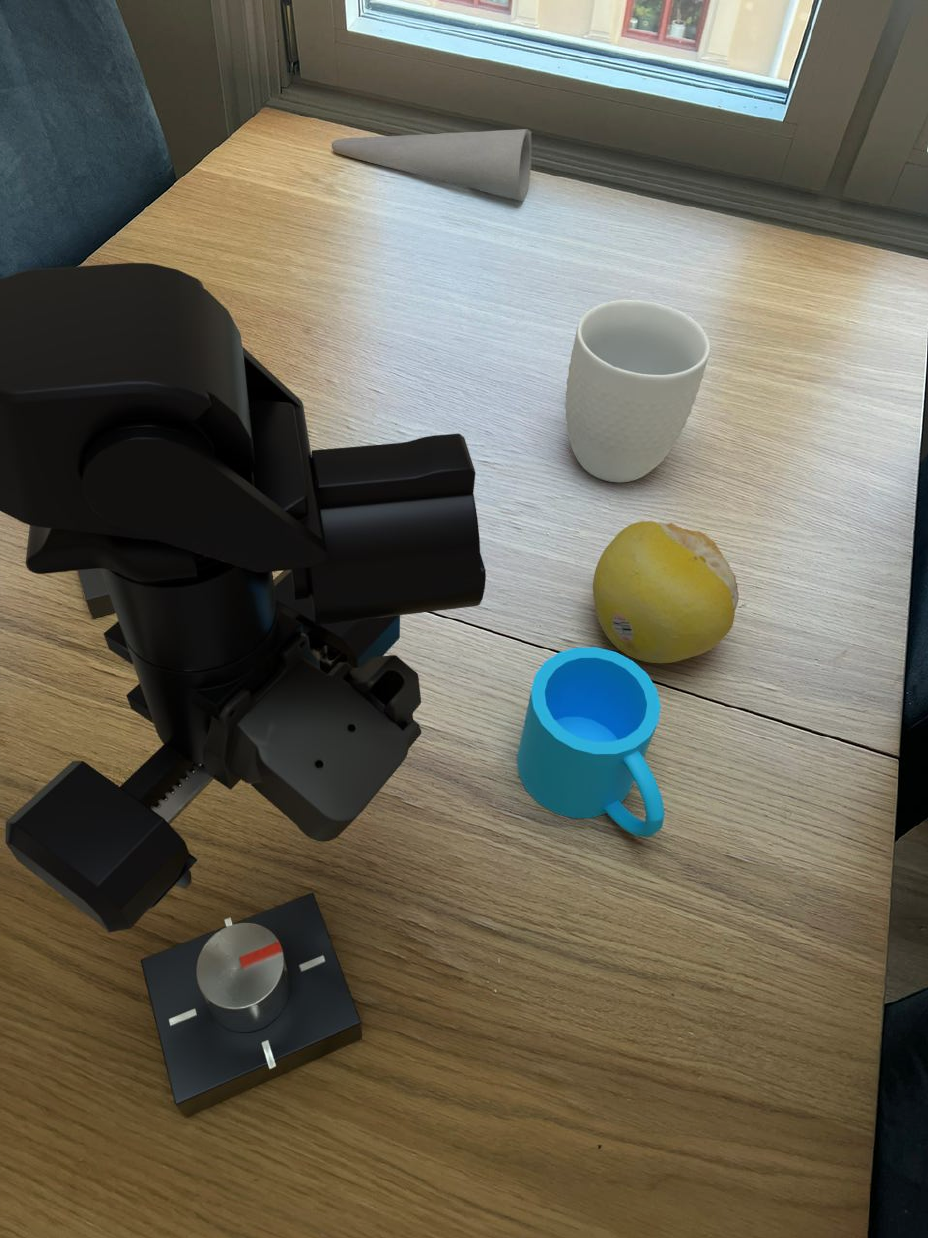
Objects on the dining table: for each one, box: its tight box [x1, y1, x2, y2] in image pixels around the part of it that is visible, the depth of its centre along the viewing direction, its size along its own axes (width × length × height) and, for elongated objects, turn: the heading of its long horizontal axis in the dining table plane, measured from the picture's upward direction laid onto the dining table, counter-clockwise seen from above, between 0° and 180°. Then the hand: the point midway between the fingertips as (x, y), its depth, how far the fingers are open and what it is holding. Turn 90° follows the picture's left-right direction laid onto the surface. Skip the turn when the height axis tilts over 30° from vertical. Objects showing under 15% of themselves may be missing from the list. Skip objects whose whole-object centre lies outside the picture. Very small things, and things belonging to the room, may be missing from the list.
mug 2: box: [516, 646, 665, 838], centre depth 61 cm, size 12×8×8 cm
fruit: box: [592, 520, 740, 664], centre depth 69 cm, size 10×11×10 cm
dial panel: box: [140, 892, 363, 1118], centre depth 52 cm, size 10×9×3 cm
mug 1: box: [564, 299, 711, 483], centre depth 82 cm, size 15×11×13 cm
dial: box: [196, 923, 290, 1032], centre depth 49 cm, size 4×4×4 cm
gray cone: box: [331, 128, 532, 202], centre depth 116 cm, size 8×9×26 cm
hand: (246, 809), depth 47 cm, fingers open, 9 cm apart
